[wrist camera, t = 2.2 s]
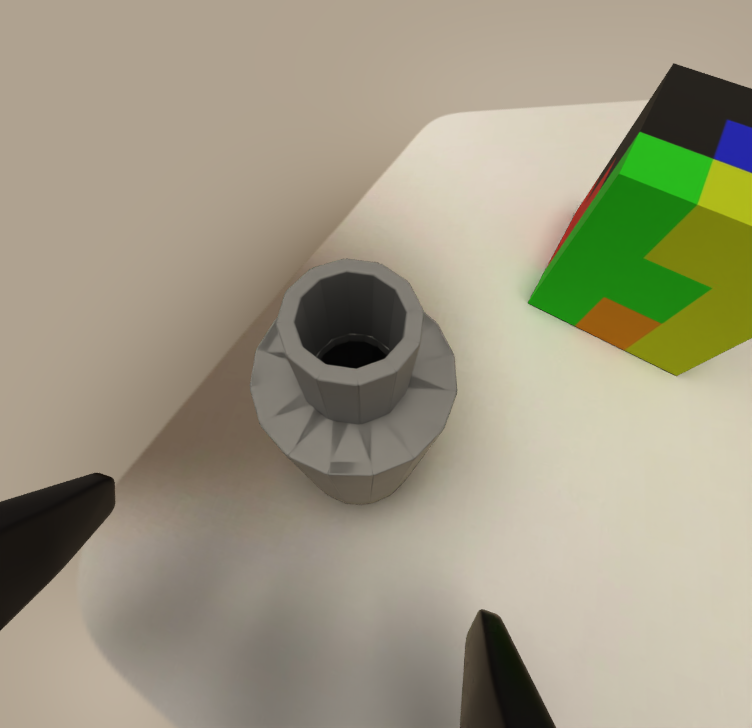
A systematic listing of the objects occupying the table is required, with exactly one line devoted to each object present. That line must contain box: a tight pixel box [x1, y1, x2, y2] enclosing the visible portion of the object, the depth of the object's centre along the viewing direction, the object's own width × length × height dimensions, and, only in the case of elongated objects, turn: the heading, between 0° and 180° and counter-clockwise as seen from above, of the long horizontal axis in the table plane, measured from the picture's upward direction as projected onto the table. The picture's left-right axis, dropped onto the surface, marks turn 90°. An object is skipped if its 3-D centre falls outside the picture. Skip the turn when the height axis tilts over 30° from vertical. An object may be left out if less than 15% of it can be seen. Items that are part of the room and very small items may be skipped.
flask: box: [250, 259, 457, 504], centre depth 15 cm, size 6×6×14 cm
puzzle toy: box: [528, 64, 752, 376], centre depth 22 cm, size 10×10×10 cm
